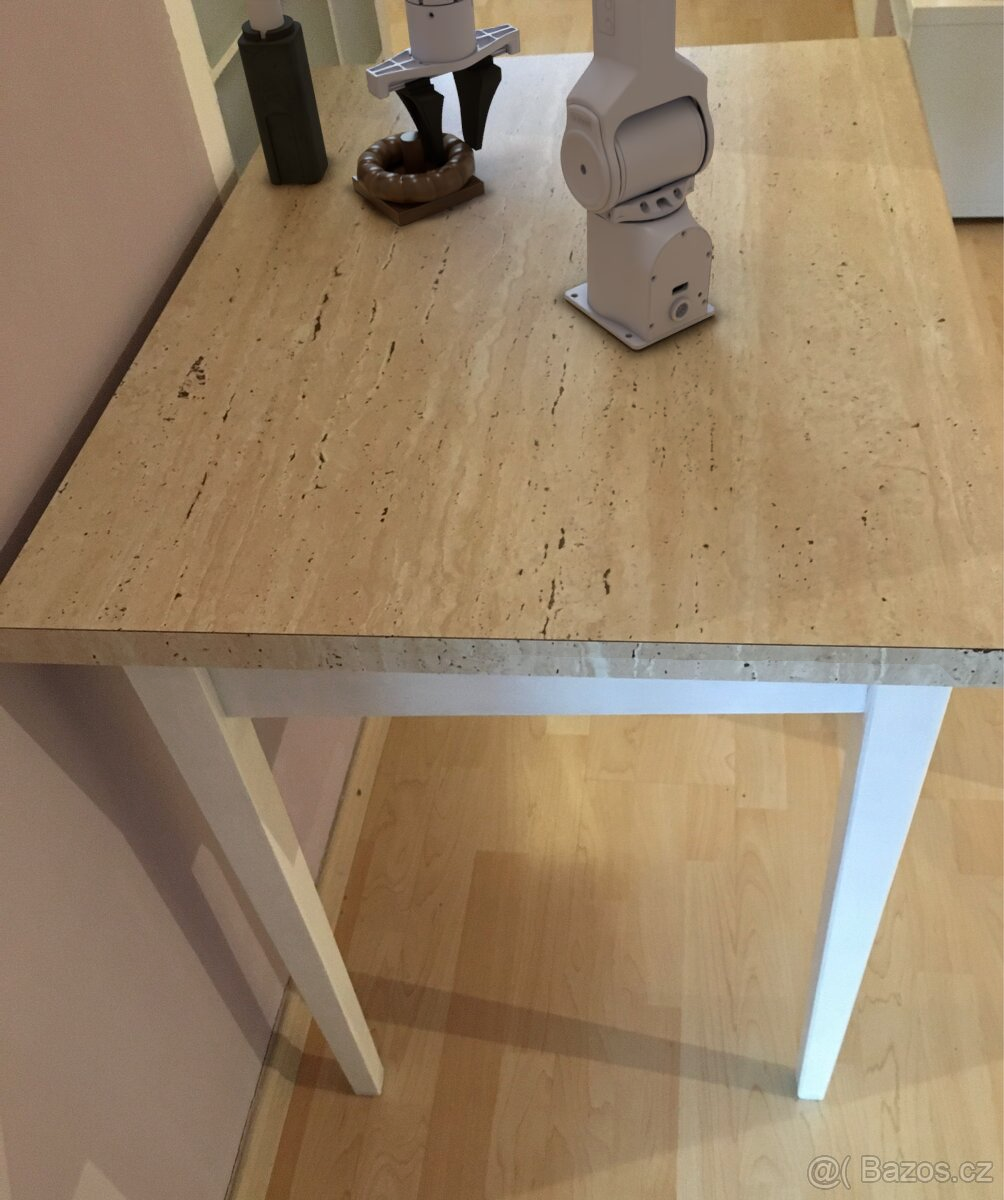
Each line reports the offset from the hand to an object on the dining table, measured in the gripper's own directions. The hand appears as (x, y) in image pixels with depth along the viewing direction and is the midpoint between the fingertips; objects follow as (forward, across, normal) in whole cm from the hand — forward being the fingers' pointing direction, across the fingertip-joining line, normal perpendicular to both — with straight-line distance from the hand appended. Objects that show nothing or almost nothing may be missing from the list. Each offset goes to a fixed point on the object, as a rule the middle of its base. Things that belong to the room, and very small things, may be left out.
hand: (454, 153), depth 98 cm
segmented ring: (0, +4, 0) cm, 4 cm away
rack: (+2, +4, 0) cm, 5 cm away
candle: (+2, +11, -11) cm, 16 cm away
